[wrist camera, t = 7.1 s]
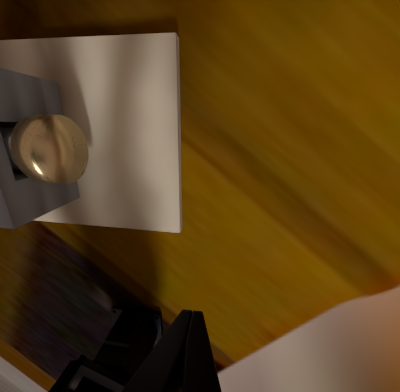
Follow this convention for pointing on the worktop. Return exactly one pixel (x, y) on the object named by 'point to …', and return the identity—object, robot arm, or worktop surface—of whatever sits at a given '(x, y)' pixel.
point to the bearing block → (98, 129)
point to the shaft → (47, 148)
